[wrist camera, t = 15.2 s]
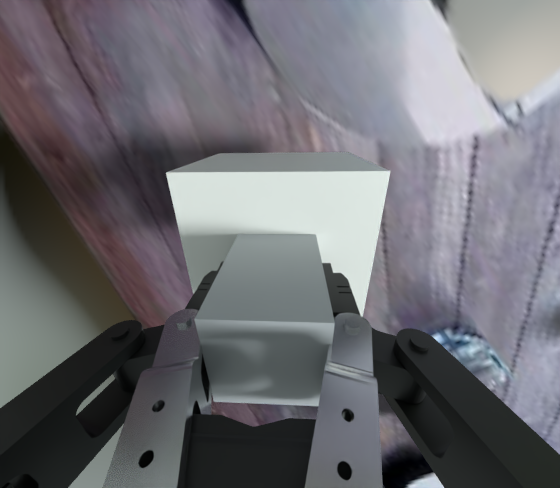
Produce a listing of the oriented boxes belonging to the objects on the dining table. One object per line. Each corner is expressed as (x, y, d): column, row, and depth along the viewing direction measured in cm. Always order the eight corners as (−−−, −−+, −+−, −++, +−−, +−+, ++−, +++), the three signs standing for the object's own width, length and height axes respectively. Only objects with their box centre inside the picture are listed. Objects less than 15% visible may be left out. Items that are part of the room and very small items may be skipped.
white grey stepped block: (348, 151, 18) (495, 219, 5) (336, 264, 23) (395, 454, 10) (219, 153, 19) (41, 217, 5) (232, 262, 23) (153, 440, 10)
